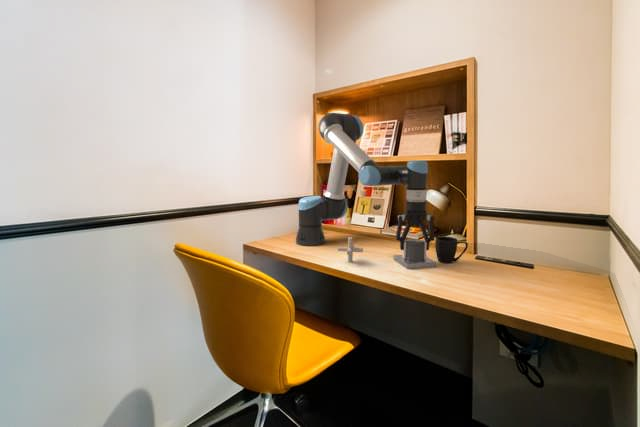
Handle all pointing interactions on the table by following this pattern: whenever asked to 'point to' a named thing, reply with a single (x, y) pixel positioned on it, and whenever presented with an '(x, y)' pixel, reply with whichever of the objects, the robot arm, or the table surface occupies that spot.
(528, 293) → the table surface
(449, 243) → the mug
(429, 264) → the shaft block
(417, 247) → the knob
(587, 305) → the table surface
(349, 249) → the pipe connector
